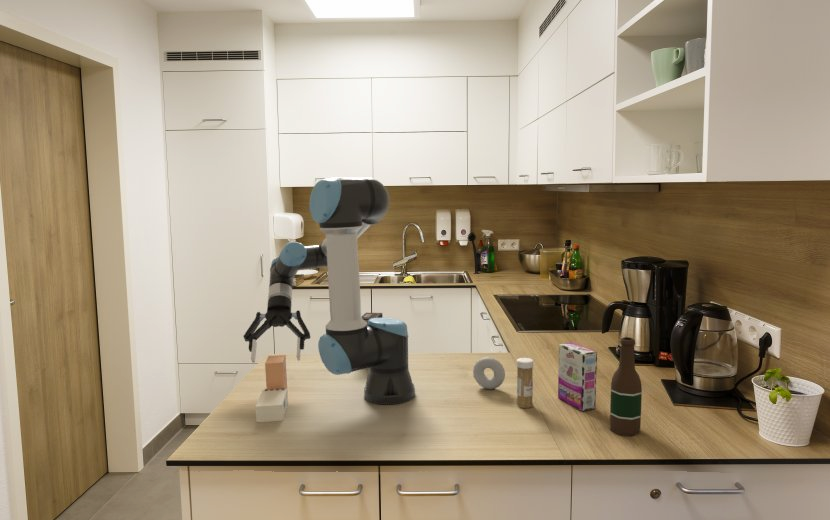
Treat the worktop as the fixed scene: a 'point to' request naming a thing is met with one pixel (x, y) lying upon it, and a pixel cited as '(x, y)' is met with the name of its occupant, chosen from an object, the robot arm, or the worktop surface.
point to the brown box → (276, 372)
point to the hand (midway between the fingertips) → (275, 359)
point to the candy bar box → (577, 376)
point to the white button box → (272, 405)
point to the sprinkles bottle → (524, 382)
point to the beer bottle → (626, 393)
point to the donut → (497, 369)
